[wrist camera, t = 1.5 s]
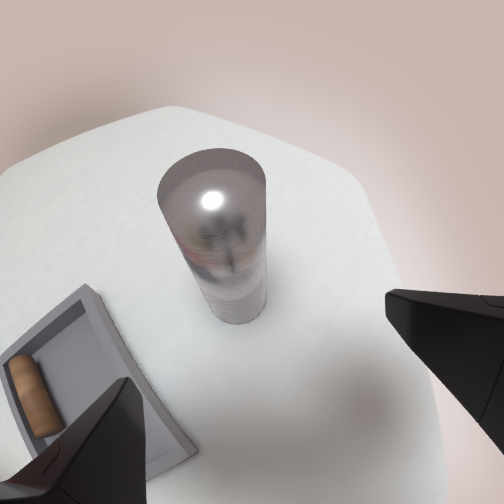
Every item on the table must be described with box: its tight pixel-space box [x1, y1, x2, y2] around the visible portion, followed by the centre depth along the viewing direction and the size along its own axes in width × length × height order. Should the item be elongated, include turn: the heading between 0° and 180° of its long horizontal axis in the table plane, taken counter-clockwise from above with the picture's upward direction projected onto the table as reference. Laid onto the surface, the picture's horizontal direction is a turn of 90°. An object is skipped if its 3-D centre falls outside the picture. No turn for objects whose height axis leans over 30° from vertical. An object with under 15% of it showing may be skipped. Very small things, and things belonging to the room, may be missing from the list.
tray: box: [0, 284, 198, 481], centre depth 17 cm, size 16×14×3 cm
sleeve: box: [157, 148, 266, 324], centre depth 17 cm, size 5×5×13 cm
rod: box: [9, 355, 64, 438], centre depth 16 cm, size 7×3×3 cm, turn 39°
